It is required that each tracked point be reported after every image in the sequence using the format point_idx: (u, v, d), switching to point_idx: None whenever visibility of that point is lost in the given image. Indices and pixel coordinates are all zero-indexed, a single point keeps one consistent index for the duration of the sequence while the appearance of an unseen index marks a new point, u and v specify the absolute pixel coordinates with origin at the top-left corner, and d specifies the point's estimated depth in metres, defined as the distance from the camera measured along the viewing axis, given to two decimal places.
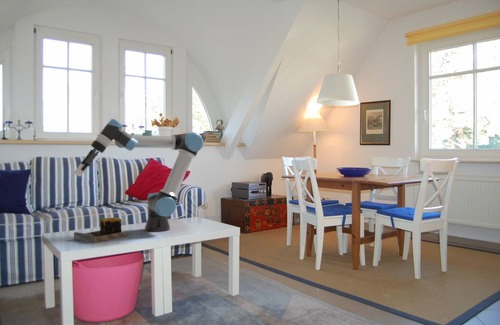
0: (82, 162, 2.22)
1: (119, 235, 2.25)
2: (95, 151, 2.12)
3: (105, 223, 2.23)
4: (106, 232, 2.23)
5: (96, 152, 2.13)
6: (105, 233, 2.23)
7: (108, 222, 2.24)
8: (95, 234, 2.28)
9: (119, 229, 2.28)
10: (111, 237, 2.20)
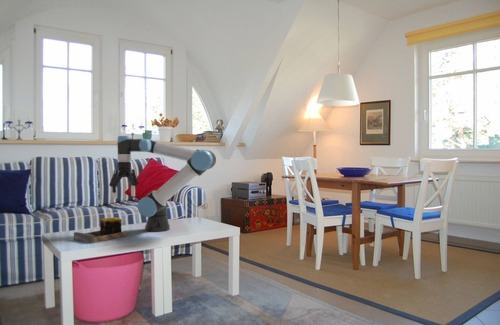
0: None
1: (119, 235, 2.25)
2: (114, 171, 2.32)
3: (105, 223, 2.23)
4: (106, 232, 2.23)
5: (115, 172, 2.31)
6: (105, 233, 2.23)
7: (108, 222, 2.24)
8: (95, 234, 2.28)
9: (119, 229, 2.28)
10: (111, 237, 2.20)
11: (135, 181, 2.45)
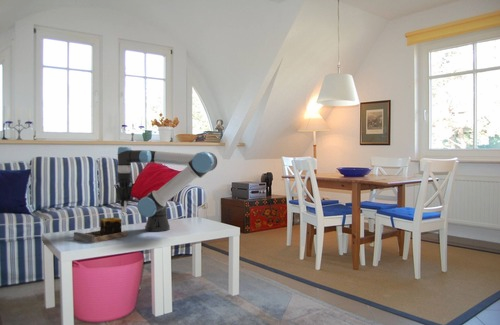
0: None
1: (119, 235, 2.25)
2: (115, 186, 2.33)
3: (105, 223, 2.23)
4: (106, 232, 2.23)
5: (116, 187, 2.32)
6: (105, 233, 2.23)
7: (108, 222, 2.24)
8: (95, 234, 2.28)
9: (119, 229, 2.28)
10: (111, 237, 2.20)
11: None
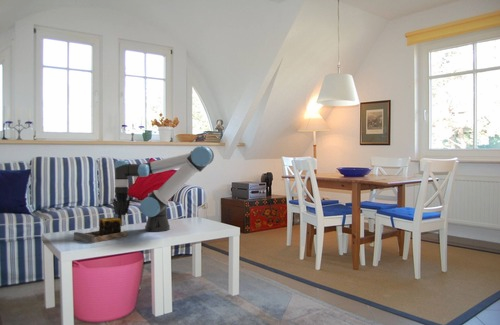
0: None
1: (119, 235, 2.25)
2: (112, 201, 2.31)
3: (104, 223, 2.23)
4: (105, 232, 2.23)
5: (113, 201, 2.31)
6: (104, 233, 2.23)
7: (107, 222, 2.24)
8: (95, 234, 2.28)
9: (118, 229, 2.27)
10: (111, 237, 2.20)
11: (125, 210, 2.40)
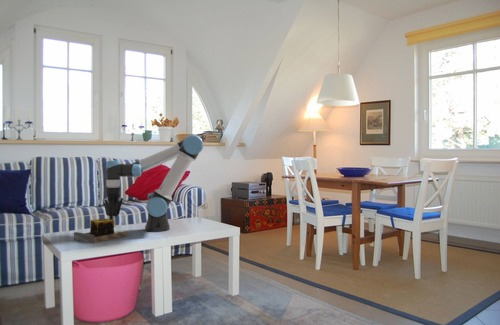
0: None
1: (119, 235, 2.25)
2: (103, 201, 2.26)
3: (98, 224, 2.18)
4: (99, 234, 2.18)
5: (104, 202, 2.26)
6: (98, 235, 2.18)
7: (101, 223, 2.19)
8: None
9: (111, 231, 2.23)
10: (111, 237, 2.20)
11: (117, 211, 2.34)
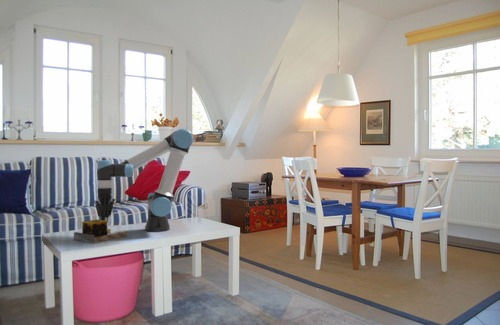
0: None
1: (119, 235, 2.25)
2: (95, 203, 2.22)
3: (92, 226, 2.14)
4: None
5: (96, 203, 2.21)
6: None
7: (95, 225, 2.15)
8: None
9: (105, 232, 2.20)
10: (111, 237, 2.20)
11: None
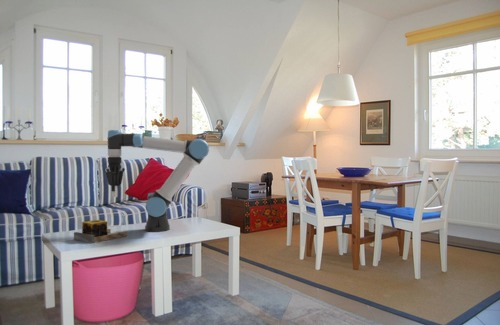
0: None
1: (119, 235, 2.25)
2: (105, 171, 2.27)
3: (92, 226, 2.14)
4: None
5: (106, 171, 2.26)
6: None
7: (95, 225, 2.15)
8: None
9: (105, 232, 2.20)
10: (111, 237, 2.20)
11: None
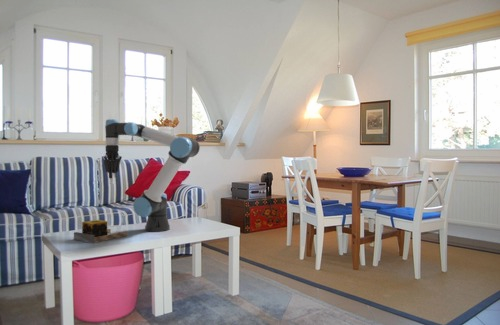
0: None
1: (119, 235, 2.25)
2: (103, 158, 2.37)
3: (92, 226, 2.14)
4: None
5: (104, 158, 2.37)
6: None
7: (95, 225, 2.15)
8: None
9: (105, 232, 2.20)
10: (111, 237, 2.20)
11: (116, 169, 2.45)
